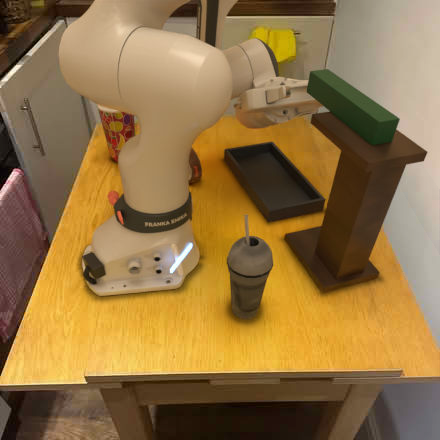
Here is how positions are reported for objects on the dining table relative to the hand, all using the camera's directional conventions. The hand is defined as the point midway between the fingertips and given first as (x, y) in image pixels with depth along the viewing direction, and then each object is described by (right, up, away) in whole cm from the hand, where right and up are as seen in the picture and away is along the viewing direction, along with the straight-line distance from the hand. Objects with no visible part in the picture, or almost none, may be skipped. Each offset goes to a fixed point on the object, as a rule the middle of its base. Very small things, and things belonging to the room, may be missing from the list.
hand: (310, 88), depth 73 cm
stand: (+5, -30, +8) cm, 31 cm away
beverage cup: (-12, -40, -1) cm, 41 cm away
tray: (-4, -10, +26) cm, 28 cm away
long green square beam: (+4, -8, -7) cm, 12 cm away
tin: (-26, -7, +28) cm, 39 cm away
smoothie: (-41, -2, +33) cm, 53 cm away
